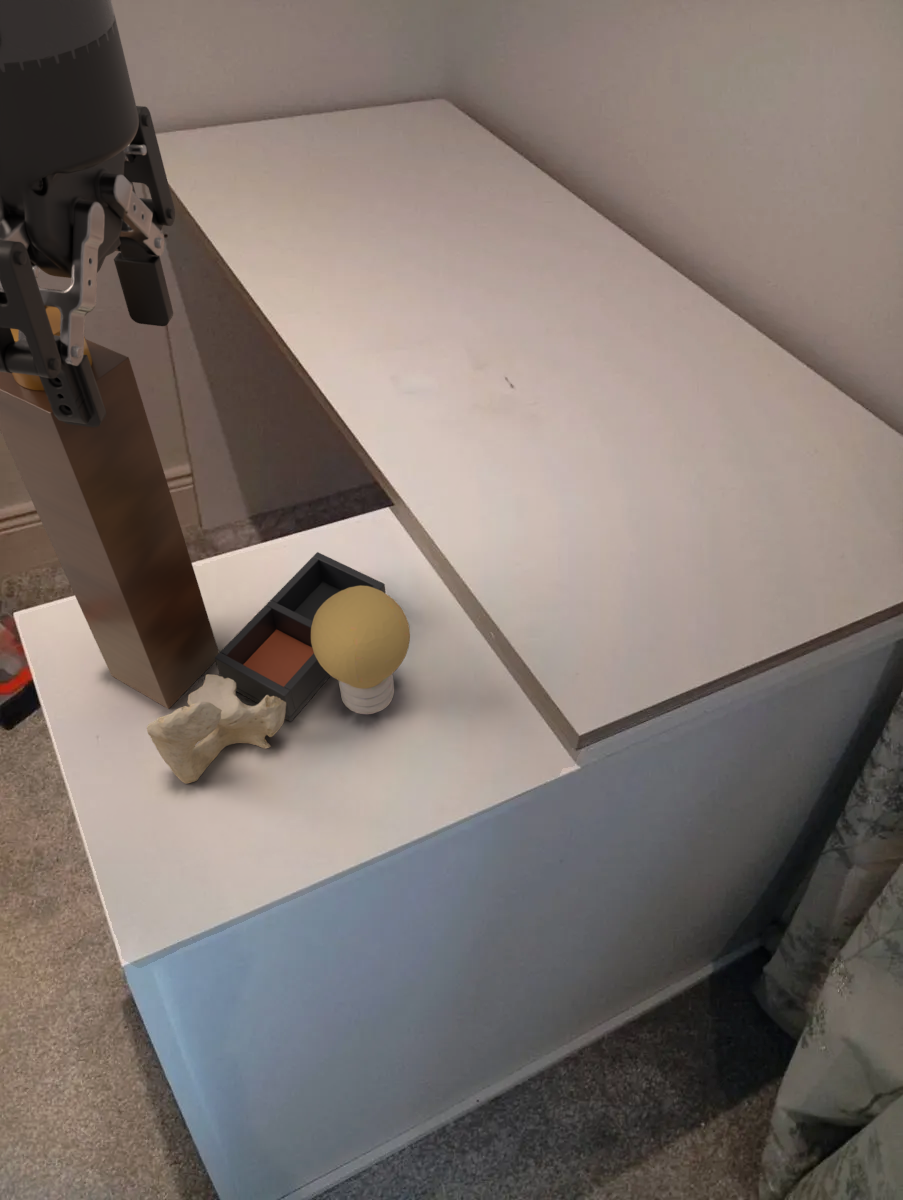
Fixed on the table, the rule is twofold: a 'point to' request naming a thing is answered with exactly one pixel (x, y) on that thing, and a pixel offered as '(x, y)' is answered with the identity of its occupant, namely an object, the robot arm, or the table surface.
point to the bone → (213, 726)
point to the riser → (114, 529)
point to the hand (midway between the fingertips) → (120, 368)
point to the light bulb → (361, 645)
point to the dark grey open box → (287, 637)
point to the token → (54, 319)
